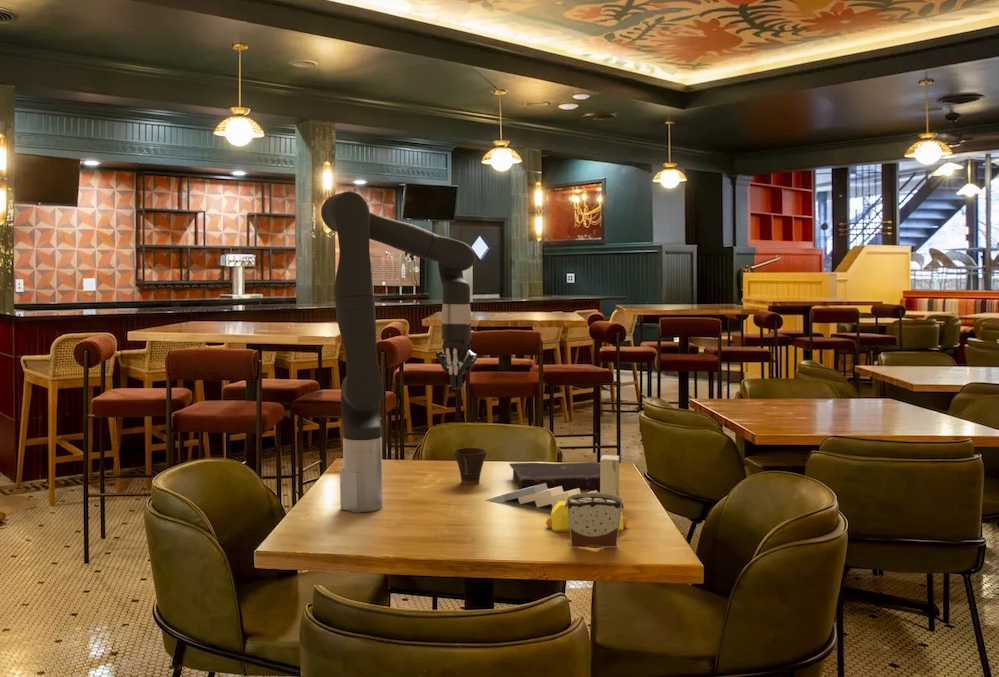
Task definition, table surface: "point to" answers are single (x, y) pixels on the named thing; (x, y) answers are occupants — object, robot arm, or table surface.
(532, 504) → the mat
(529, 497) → the domino
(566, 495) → the domino
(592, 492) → the domino
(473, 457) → the cup
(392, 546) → the table surface
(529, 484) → the diary
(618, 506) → the food container
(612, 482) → the skincare box
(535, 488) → the domino
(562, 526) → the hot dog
